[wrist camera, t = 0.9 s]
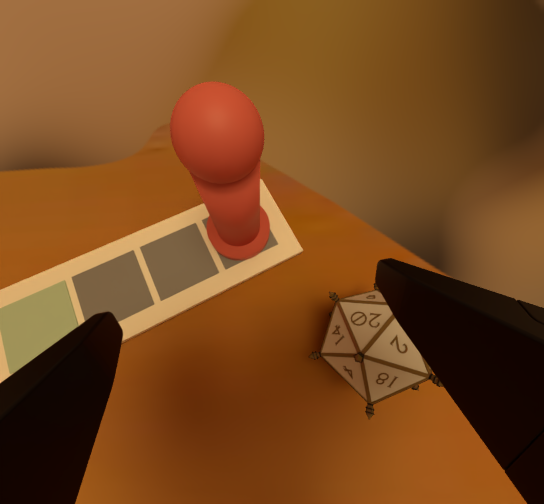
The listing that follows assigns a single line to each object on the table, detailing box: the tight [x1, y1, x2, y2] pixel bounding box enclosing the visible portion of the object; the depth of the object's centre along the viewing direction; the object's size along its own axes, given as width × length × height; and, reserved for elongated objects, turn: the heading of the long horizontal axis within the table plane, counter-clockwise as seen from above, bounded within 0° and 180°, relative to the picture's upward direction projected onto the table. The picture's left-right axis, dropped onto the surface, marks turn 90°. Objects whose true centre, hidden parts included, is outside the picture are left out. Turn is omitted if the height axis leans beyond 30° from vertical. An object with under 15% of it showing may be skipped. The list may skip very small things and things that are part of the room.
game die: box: [309, 283, 444, 419], centre depth 18 cm, size 9×8×10 cm
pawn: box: [170, 82, 270, 261], centre depth 16 cm, size 6×6×14 cm
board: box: [0, 179, 303, 383], centre depth 22 cm, size 27×9×1 cm, turn 118°
